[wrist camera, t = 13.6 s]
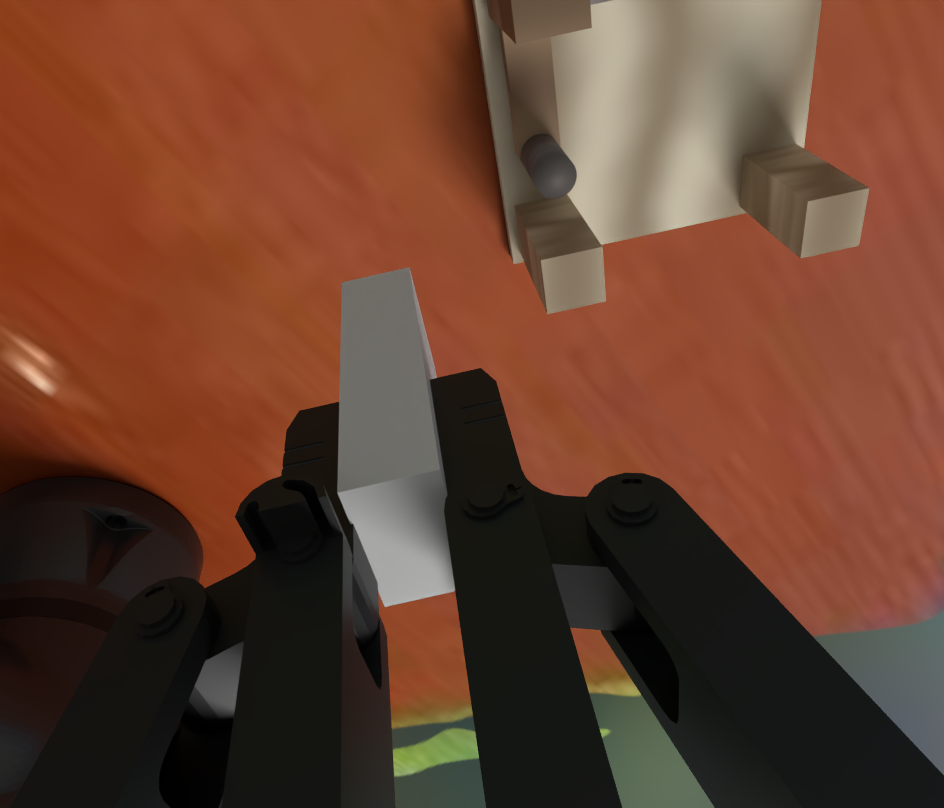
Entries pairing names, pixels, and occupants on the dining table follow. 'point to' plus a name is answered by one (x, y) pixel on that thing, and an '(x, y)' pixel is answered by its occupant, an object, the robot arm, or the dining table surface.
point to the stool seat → (671, 135)
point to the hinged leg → (537, 83)
